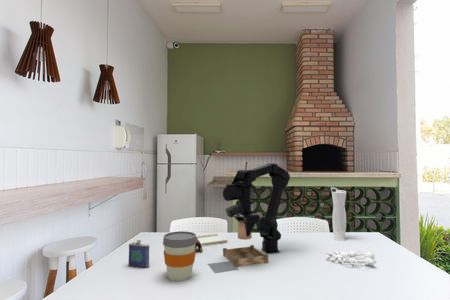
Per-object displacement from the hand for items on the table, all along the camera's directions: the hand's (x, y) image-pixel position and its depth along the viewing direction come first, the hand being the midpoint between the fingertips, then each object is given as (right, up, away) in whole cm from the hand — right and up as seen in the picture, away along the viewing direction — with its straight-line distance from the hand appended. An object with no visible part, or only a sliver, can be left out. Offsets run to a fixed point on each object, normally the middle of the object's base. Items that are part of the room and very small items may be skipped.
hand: (244, 234), depth 126 cm
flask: (-44, -11, -8) cm, 46 cm away
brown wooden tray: (0, -11, 0) cm, 11 cm away
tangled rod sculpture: (+45, -11, -3) cm, 47 cm away
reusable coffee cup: (-26, -11, -17) cm, 33 cm away
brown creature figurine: (-24, -11, +11) cm, 29 cm away
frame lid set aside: (-17, -12, +28) cm, 34 cm away
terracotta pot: (0, -1, 0) cm, 1 cm away
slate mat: (-9, -11, -9) cm, 17 cm away
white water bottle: (+54, -12, +31) cm, 63 cm away
